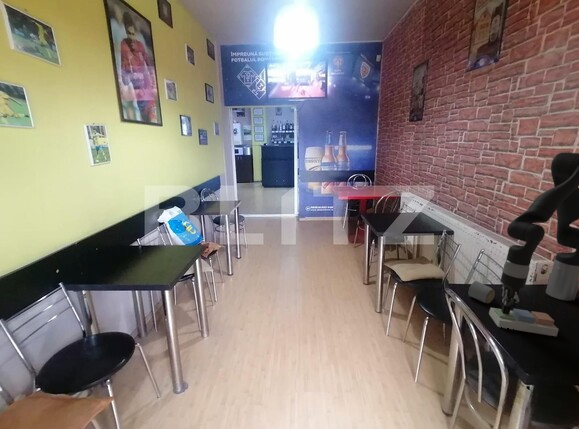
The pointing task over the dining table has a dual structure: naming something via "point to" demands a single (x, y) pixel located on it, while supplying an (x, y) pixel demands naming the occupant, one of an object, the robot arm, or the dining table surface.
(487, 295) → the grey cylinder
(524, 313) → the slate button
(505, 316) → the green button
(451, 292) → the dining table surface
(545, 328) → the console
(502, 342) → the dining table surface
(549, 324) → the terracotta button
